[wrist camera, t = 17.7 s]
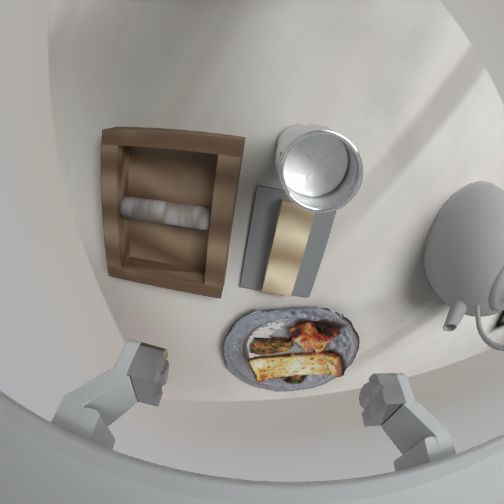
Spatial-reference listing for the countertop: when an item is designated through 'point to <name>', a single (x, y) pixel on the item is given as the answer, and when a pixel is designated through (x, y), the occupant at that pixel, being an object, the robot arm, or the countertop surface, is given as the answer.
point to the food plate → (292, 348)
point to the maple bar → (287, 248)
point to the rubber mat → (263, 235)
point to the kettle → (469, 255)
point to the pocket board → (171, 183)
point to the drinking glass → (318, 167)
